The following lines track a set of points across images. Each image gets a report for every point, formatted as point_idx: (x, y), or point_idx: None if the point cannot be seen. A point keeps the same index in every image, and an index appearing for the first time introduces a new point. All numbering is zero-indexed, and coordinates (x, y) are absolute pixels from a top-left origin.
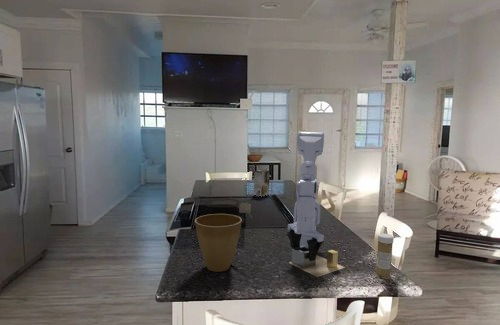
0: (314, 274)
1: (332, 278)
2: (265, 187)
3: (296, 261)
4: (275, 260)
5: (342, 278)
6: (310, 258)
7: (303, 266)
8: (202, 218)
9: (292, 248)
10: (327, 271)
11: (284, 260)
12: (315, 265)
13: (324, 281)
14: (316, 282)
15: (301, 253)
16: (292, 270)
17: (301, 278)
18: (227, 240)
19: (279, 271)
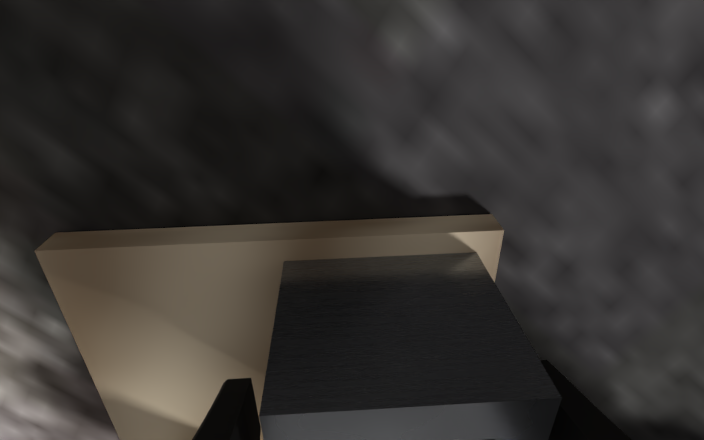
0: (107, 265)
1: (57, 356)
2: None
3: (405, 282)
4: (677, 179)
5: (36, 409)
6: (212, 407)
7: (281, 276)
8: None
9: (550, 398)
10: (130, 391)
11: (600, 255)
12: None
13: (14, 270)
14: (8, 194)
15: (324, 397)
16: (373, 171)
17: (152, 121)
18: None
19: (444, 11)
